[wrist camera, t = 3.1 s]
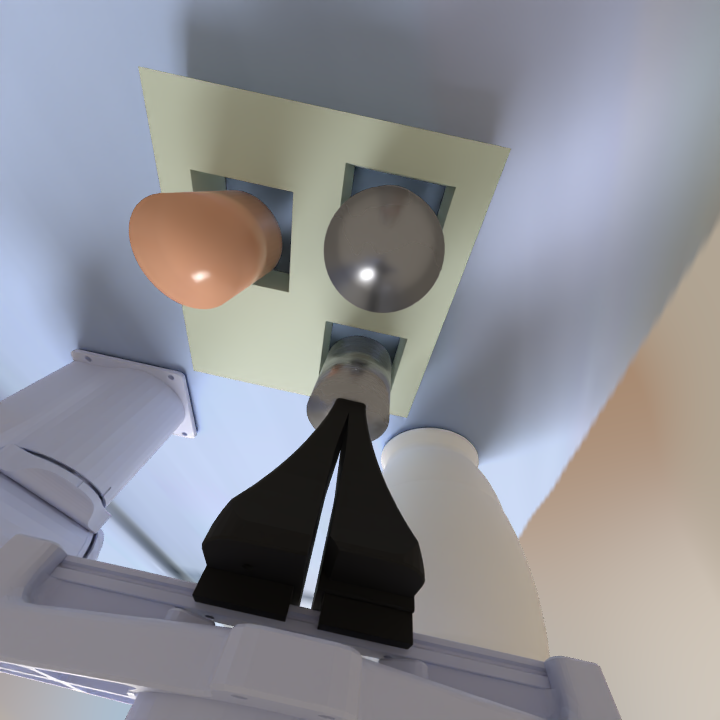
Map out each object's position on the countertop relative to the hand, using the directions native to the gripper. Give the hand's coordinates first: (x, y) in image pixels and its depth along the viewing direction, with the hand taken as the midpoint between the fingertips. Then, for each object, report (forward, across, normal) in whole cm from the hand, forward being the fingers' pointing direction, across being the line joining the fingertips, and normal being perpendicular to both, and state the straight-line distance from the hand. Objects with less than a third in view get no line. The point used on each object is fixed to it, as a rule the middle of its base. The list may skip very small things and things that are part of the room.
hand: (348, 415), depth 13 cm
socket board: (+8, +4, -4) cm, 9 cm away
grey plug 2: (+5, 0, 0) cm, 5 cm away
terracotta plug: (+4, +7, -6) cm, 10 cm away
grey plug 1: (+5, 0, -7) cm, 9 cm away
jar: (+8, -8, +10) cm, 15 cm away
